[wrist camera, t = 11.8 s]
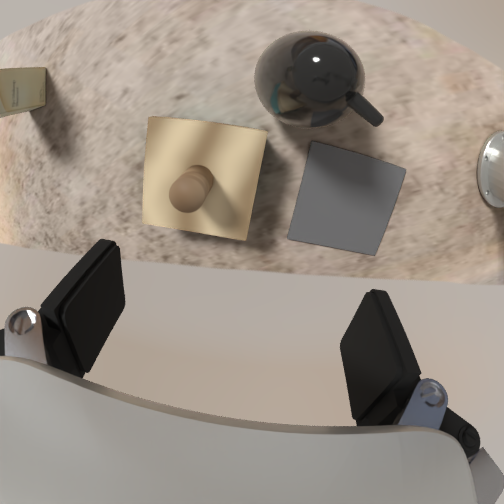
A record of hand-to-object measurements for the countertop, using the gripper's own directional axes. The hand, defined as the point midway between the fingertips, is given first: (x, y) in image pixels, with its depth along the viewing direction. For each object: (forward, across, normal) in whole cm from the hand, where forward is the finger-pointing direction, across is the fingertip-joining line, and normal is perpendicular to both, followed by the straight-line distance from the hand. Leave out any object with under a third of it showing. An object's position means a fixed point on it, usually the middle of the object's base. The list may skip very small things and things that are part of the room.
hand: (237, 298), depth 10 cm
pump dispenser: (+26, -3, -10) cm, 28 cm away
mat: (+26, -12, +3) cm, 29 cm away
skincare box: (+25, +34, -8) cm, 43 cm away
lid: (+21, +6, +2) cm, 22 cm away
